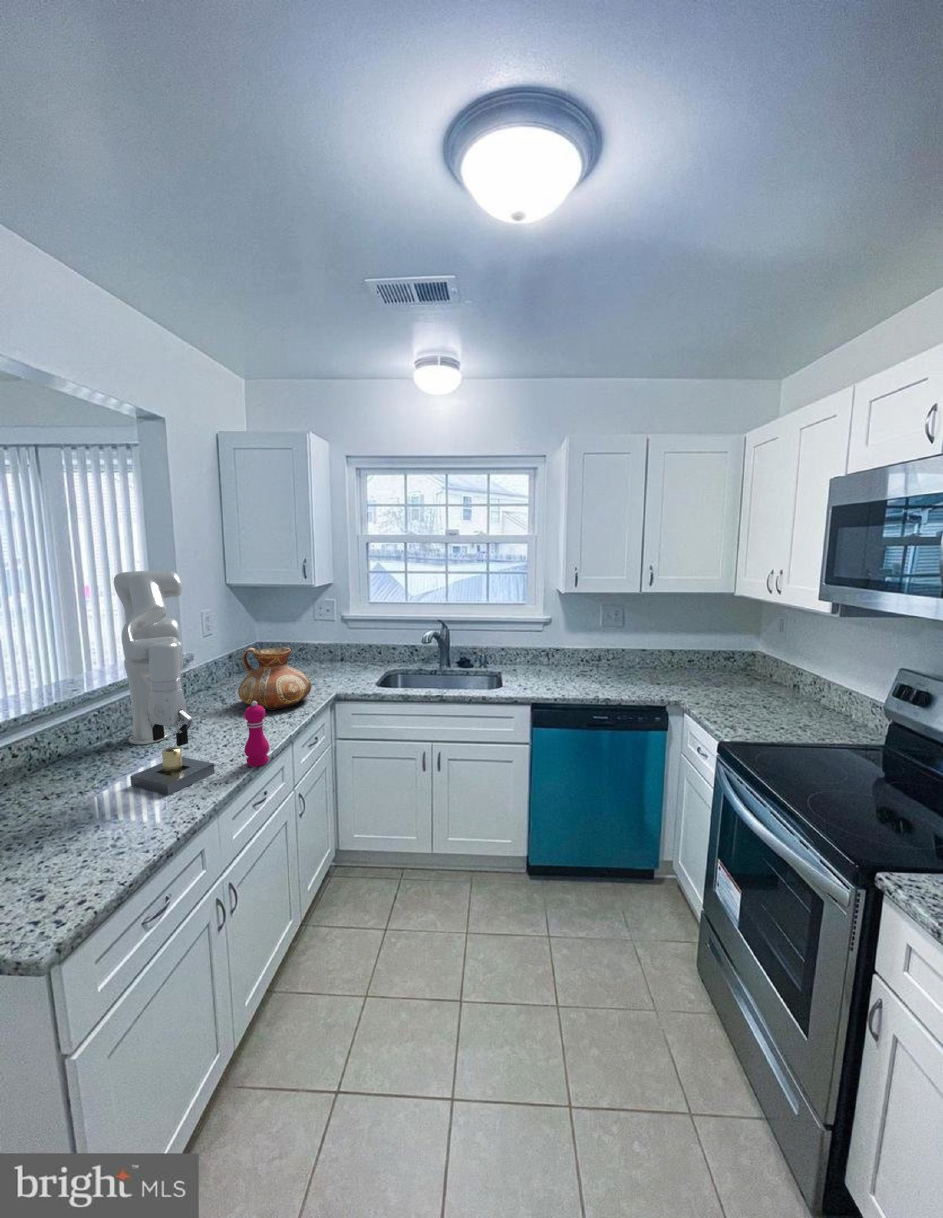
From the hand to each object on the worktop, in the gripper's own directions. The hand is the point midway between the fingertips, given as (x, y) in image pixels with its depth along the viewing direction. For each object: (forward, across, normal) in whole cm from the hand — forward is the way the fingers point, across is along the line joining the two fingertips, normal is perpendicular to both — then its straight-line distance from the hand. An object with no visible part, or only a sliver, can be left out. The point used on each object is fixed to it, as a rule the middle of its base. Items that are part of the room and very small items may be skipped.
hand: (170, 741), depth 148 cm
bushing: (+11, +1, 0) cm, 11 cm away
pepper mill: (+11, +15, +18) cm, 26 cm away
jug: (+13, -25, +68) cm, 74 cm away
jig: (+11, +1, 0) cm, 11 cm away
